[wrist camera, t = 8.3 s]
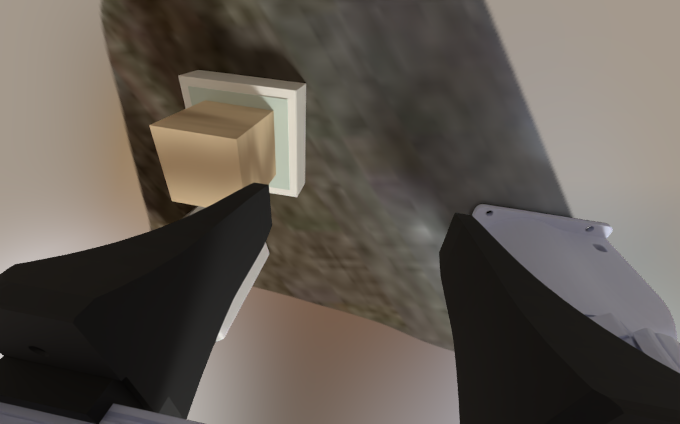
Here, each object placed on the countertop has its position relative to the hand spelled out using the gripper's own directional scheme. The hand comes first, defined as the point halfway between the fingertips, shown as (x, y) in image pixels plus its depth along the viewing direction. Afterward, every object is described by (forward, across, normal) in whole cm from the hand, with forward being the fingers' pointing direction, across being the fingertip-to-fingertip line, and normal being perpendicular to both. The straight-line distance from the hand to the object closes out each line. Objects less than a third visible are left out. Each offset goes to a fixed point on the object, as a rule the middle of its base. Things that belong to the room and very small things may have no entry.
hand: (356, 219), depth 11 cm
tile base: (+10, +8, +1) cm, 14 cm away
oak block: (+8, +8, +1) cm, 12 cm away
